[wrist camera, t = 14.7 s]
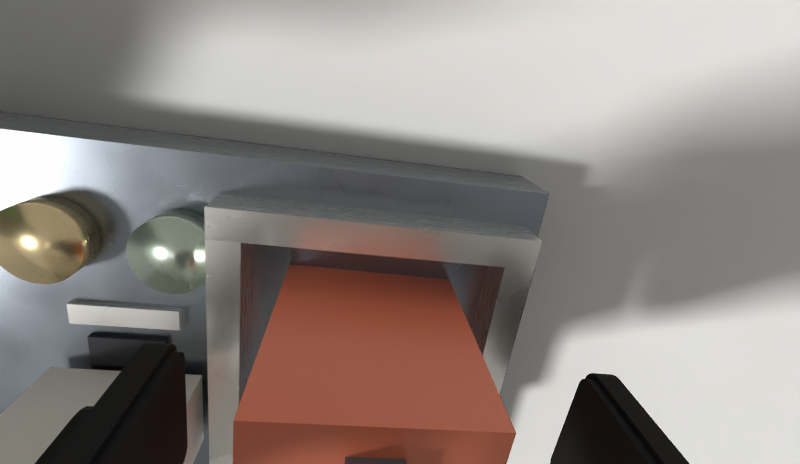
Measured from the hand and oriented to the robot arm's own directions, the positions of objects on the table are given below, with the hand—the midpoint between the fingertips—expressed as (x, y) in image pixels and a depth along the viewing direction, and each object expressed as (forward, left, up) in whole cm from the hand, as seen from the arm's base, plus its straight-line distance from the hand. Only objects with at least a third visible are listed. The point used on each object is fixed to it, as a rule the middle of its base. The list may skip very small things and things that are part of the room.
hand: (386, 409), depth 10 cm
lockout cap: (0, +1, -3) cm, 3 cm away
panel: (-6, +4, -5) cm, 8 cm away
